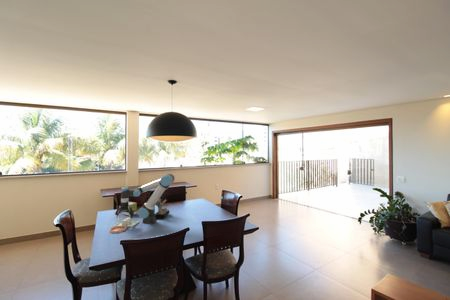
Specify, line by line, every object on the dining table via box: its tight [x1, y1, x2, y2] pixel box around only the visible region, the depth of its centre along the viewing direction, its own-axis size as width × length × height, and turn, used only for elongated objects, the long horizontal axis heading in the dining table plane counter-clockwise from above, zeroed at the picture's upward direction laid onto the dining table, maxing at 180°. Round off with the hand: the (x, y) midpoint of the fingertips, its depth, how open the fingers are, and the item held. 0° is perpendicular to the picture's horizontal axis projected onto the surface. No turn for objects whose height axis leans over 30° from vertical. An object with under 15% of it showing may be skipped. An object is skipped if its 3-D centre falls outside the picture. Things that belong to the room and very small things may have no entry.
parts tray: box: [112, 220, 140, 228], centre depth 232 cm, size 21×16×2 cm
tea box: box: [122, 201, 138, 217], centre depth 272 cm, size 15×10×15 cm, turn 66°
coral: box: [155, 198, 170, 219], centre depth 264 cm, size 25×20×22 cm
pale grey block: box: [121, 218, 128, 226], centre depth 229 cm, size 4×4×6 cm
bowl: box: [109, 226, 127, 234], centre depth 216 cm, size 15×15×2 cm
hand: (124, 221), depth 229 cm, fingers open, 13 cm apart
